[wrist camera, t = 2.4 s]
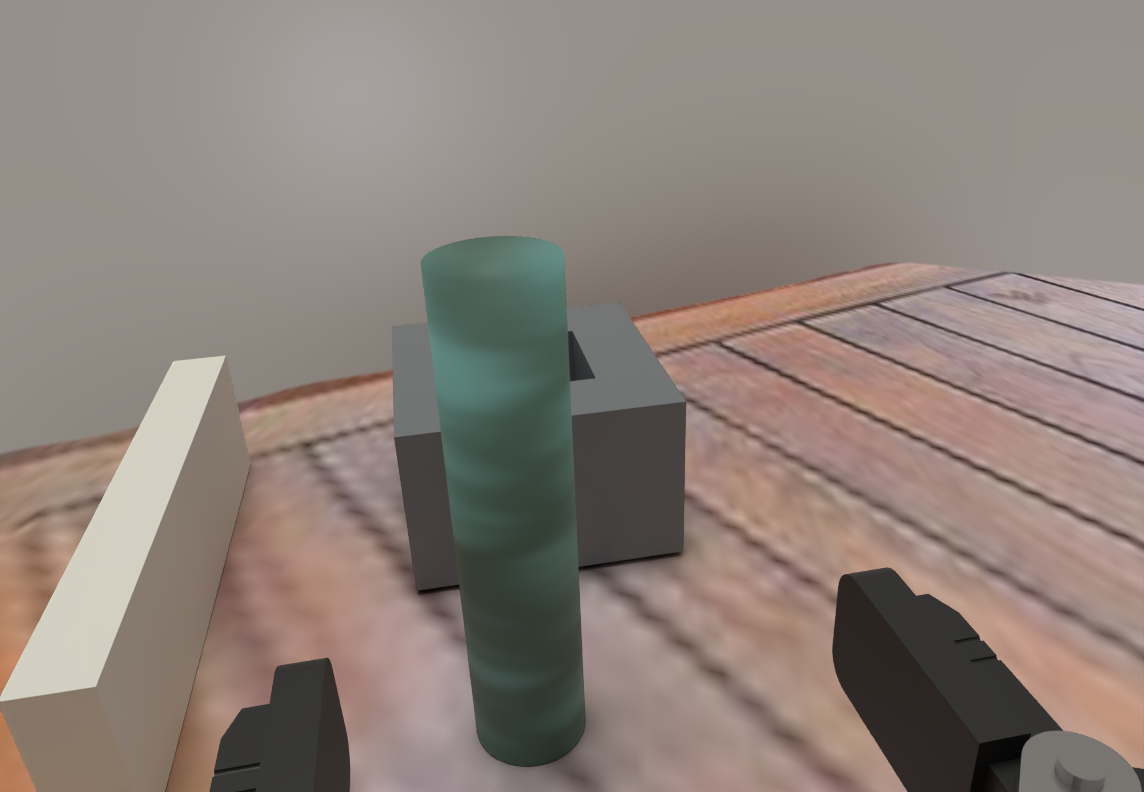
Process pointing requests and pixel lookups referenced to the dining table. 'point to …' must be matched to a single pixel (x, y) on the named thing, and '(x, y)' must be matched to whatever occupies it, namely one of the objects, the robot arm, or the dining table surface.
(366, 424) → the dining table surface
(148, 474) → the wall
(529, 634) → the dowel
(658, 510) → the socket block
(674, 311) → the dining table surface
